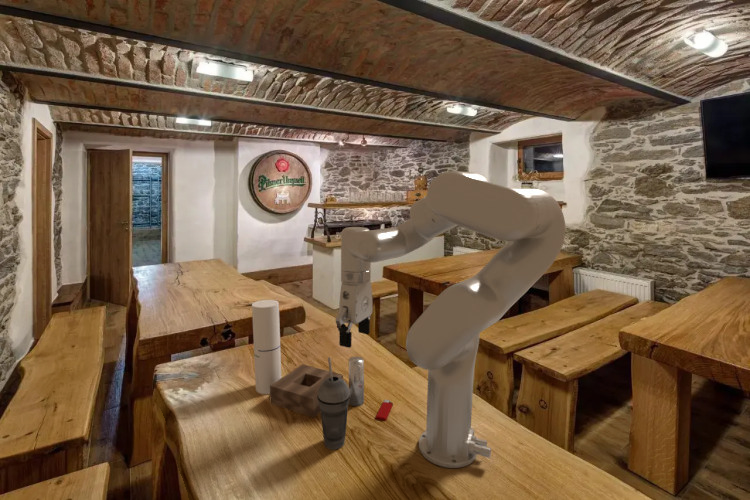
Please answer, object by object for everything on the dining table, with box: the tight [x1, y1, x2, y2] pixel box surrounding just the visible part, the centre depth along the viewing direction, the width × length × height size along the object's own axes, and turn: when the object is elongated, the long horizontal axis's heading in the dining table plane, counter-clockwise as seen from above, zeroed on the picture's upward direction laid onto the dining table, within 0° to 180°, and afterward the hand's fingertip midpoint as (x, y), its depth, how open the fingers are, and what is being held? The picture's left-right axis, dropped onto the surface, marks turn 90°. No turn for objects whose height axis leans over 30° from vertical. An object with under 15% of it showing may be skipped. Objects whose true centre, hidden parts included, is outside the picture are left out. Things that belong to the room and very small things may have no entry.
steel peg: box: [348, 356, 365, 407], centre depth 101 cm, size 4×4×12 cm
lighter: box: [375, 399, 394, 422], centre depth 98 cm, size 3×1×8 cm
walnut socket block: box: [269, 364, 344, 418], centre depth 103 cm, size 14×14×5 cm
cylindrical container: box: [251, 299, 282, 395], centre depth 107 cm, size 7×7×25 cm
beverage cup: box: [317, 357, 350, 451], centre depth 84 cm, size 7×7×20 cm
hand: (355, 339), depth 99 cm, fingers open, 9 cm apart
